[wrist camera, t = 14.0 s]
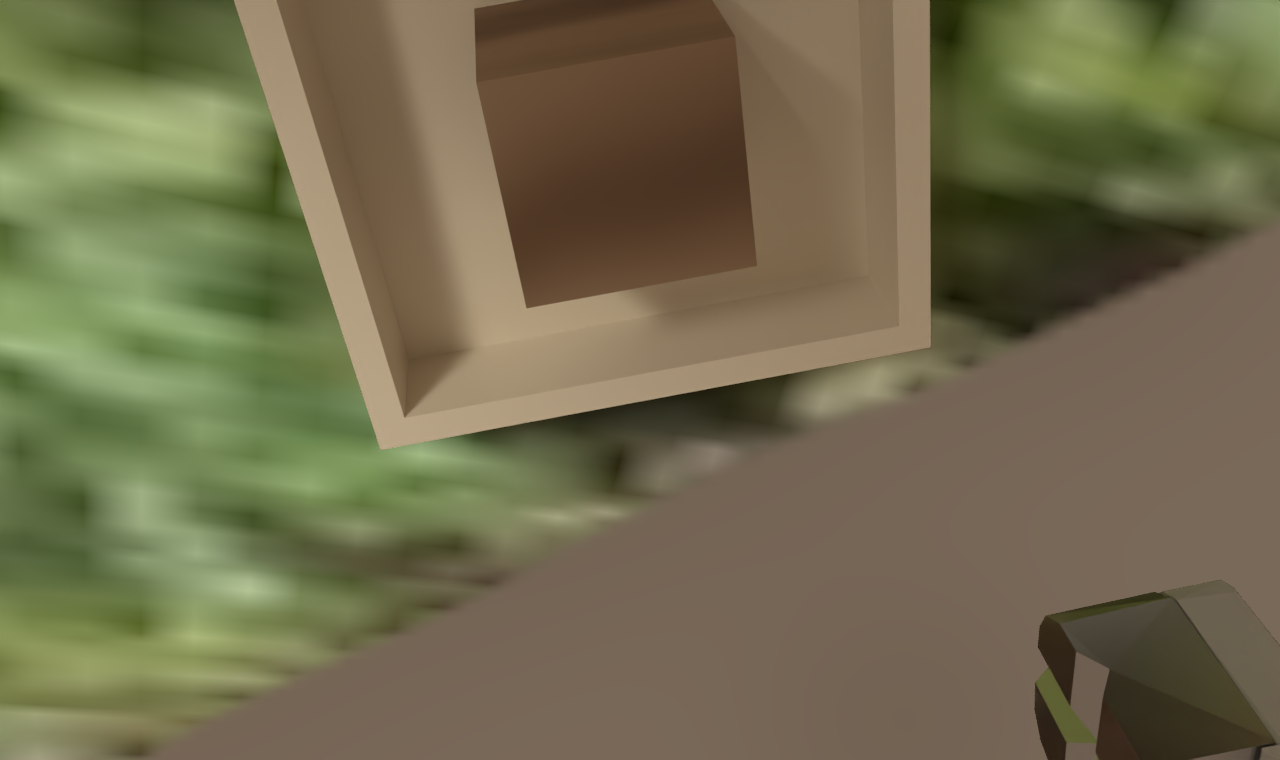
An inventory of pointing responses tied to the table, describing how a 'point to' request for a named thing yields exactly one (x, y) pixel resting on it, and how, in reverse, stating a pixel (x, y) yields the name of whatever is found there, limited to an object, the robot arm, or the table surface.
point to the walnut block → (615, 142)
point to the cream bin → (620, 321)
